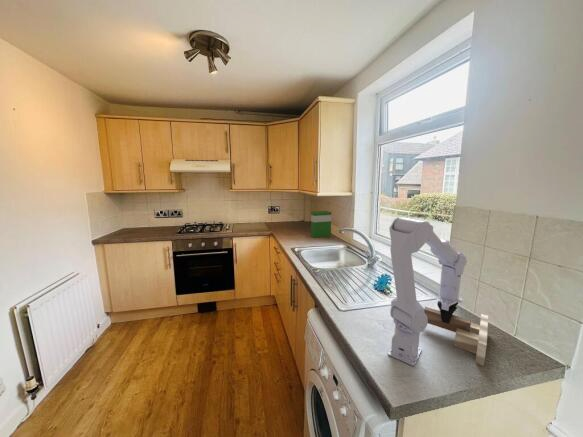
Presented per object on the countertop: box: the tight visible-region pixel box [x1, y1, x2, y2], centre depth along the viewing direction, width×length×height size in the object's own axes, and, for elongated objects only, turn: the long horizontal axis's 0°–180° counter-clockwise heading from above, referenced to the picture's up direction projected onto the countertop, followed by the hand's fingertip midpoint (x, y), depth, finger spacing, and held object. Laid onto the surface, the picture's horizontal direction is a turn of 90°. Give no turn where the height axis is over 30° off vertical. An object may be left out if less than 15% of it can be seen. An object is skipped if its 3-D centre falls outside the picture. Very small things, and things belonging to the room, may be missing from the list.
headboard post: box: [454, 313, 489, 367], centre depth 83 cm, size 20×8×7 cm, turn 141°
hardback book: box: [310, 210, 332, 239], centre depth 235 cm, size 18×7×24 cm, turn 108°
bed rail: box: [423, 306, 472, 333], centre depth 88 cm, size 3×14×5 cm, turn 50°
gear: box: [373, 273, 393, 294], centre depth 124 cm, size 11×6×10 cm
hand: (446, 320), depth 88 cm, fingers closed on bed rail, 2 cm apart
